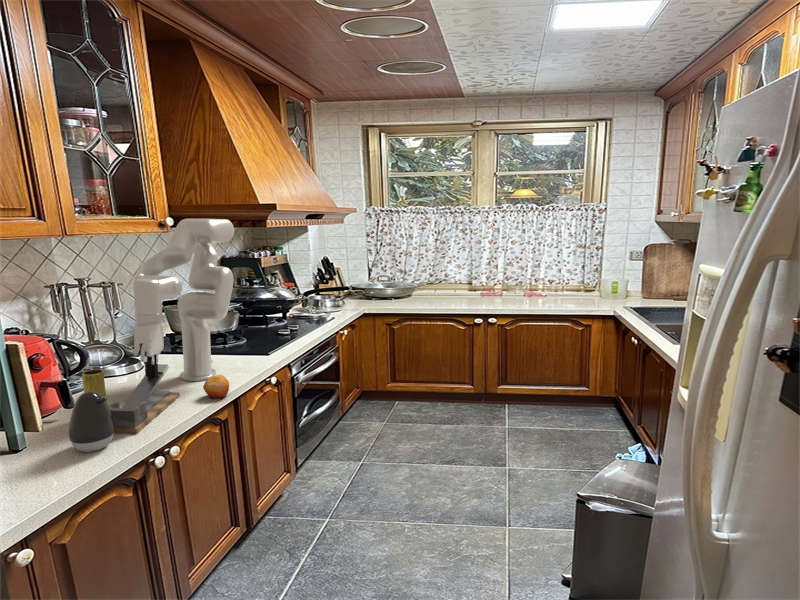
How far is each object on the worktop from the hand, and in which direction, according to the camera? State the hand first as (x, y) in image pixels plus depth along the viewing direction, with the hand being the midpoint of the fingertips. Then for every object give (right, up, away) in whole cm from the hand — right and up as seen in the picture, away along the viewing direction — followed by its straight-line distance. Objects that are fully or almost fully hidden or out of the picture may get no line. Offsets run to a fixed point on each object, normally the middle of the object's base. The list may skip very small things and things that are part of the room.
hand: (151, 375), depth 153 cm
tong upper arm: (0, -4, -4) cm, 6 cm away
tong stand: (0, -11, -5) cm, 12 cm away
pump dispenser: (-2, -15, -26) cm, 30 cm away
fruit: (+17, -9, +11) cm, 22 cm away
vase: (-12, -11, -9) cm, 19 cm away
